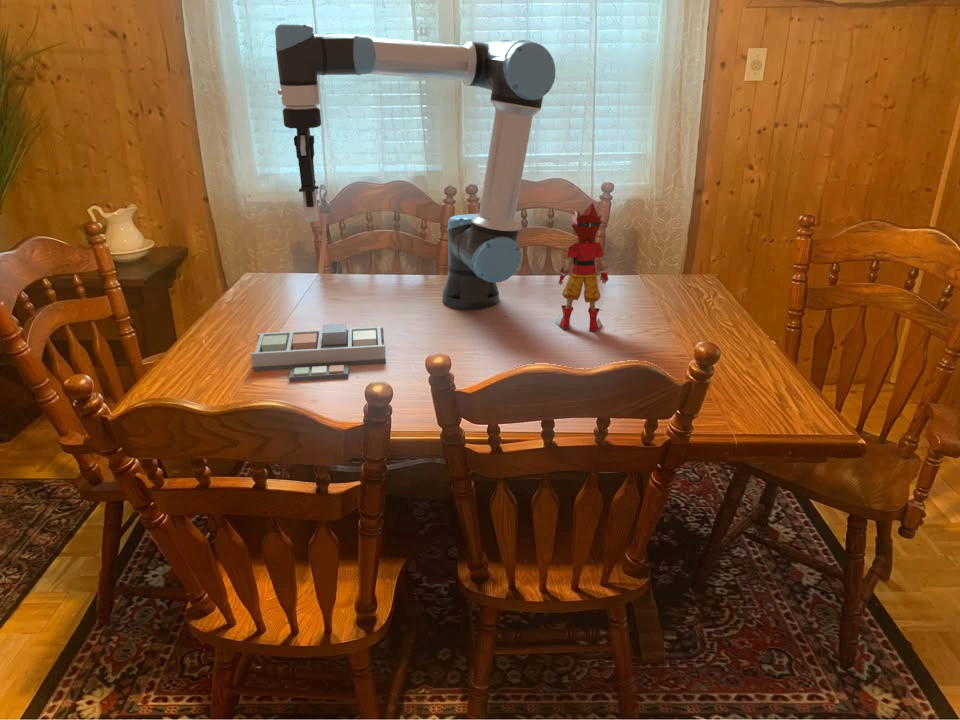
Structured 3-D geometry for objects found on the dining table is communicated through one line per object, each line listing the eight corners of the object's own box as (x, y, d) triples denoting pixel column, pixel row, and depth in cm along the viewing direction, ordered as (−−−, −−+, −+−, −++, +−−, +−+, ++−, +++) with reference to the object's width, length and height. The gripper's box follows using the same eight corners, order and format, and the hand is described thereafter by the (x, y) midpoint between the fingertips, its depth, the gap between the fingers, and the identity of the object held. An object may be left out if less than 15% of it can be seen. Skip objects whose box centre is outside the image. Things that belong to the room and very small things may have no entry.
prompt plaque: (348, 369, 158) (348, 363, 157) (348, 377, 154) (347, 371, 153) (291, 372, 156) (290, 366, 155) (289, 381, 152) (289, 375, 151)
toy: (599, 318, 185) (608, 199, 173) (608, 332, 177) (618, 208, 164) (552, 319, 184) (558, 200, 172) (559, 333, 176) (565, 209, 164)
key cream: (376, 341, 167) (375, 330, 166) (376, 350, 163) (376, 338, 161) (354, 342, 166) (353, 331, 165) (353, 351, 162) (353, 339, 161)
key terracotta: (318, 344, 165) (316, 333, 164) (317, 353, 161) (315, 341, 160) (295, 346, 165) (294, 334, 163) (293, 355, 160) (292, 343, 159)
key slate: (346, 335, 165) (345, 323, 164) (346, 343, 161) (345, 331, 160) (324, 336, 165) (323, 324, 164) (323, 345, 160) (322, 333, 159)
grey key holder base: (383, 341, 171) (382, 326, 170) (385, 363, 160) (384, 346, 159) (260, 349, 167) (258, 332, 166) (253, 371, 157) (251, 354, 155)
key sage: (288, 346, 164) (287, 334, 163) (286, 355, 160) (285, 343, 159) (265, 347, 164) (264, 336, 163) (262, 356, 159) (261, 345, 158)
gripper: (285, 103, 156) (296, 214, 166) (279, 110, 144) (292, 228, 154) (321, 103, 157) (330, 213, 167) (318, 109, 145) (328, 227, 155)
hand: (311, 220), depth 160 cm, fingers closed
